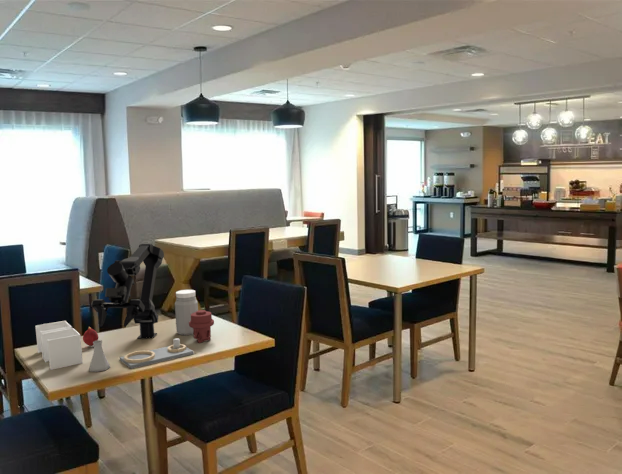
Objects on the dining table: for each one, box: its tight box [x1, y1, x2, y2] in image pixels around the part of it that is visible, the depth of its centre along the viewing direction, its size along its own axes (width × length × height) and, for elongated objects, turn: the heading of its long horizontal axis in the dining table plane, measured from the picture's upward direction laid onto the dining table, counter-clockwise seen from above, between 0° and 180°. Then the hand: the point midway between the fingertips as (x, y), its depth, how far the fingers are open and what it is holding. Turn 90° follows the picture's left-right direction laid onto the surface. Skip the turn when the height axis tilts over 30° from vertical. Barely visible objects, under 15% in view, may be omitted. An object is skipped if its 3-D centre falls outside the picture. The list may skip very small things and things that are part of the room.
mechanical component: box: [189, 309, 215, 344], centre depth 230 cm, size 12×10×10 cm
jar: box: [174, 289, 199, 336], centre depth 242 cm, size 10×10×18 cm
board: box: [119, 338, 194, 370], centre depth 212 cm, size 24×12×5 cm, turn 127°
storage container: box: [34, 320, 84, 371], centre depth 214 cm, size 25×11×11 cm, turn 35°
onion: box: [82, 326, 99, 347], centre depth 227 cm, size 6×6×8 cm
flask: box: [88, 339, 111, 373], centre depth 201 cm, size 7×7×10 cm
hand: (112, 326), depth 207 cm, fingers open, 9 cm apart
